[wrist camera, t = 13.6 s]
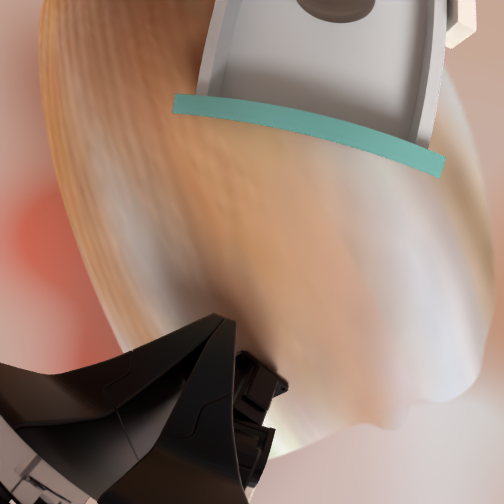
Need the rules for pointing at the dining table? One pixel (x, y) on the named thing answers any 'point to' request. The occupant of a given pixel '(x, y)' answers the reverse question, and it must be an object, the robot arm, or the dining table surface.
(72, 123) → the dining table surface
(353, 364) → the dining table surface
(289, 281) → the dining table surface
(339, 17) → the pepper mill
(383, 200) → the dining table surface
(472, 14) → the tray sleeve
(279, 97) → the grey tray
